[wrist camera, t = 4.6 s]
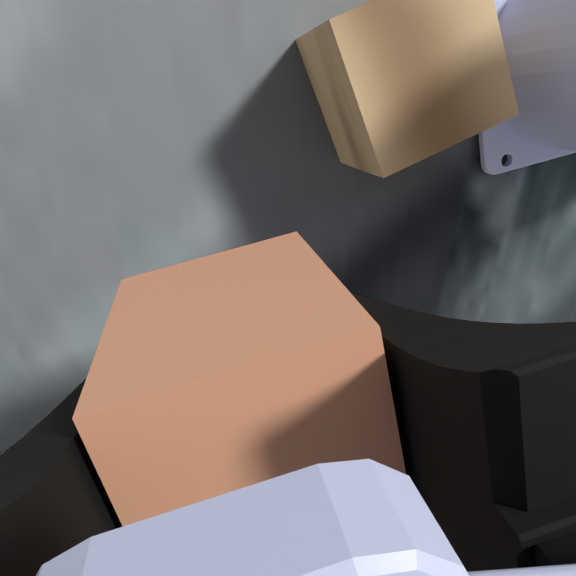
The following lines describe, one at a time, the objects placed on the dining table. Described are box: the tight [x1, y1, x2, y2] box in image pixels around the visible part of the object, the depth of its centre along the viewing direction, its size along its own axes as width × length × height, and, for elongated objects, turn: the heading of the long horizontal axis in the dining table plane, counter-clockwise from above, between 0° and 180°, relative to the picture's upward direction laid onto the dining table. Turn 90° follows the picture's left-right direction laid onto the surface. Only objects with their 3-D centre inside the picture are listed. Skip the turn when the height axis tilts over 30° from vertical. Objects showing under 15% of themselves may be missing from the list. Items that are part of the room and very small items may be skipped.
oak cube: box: [295, 0, 519, 178], centre depth 18 cm, size 5×5×5 cm
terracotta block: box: [72, 231, 406, 526], centre depth 11 cm, size 4×4×6 cm
